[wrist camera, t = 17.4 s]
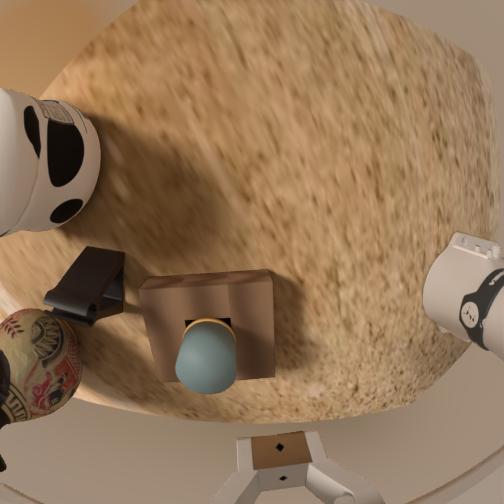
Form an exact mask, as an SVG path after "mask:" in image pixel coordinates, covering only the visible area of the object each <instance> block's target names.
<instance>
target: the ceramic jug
mask: <svg viewBox="0 0 504 504" xmlns="http://www.w3.org/2000/svg"><path fill="white" fill-rule="evenodd" d="M45 285H46V284H45ZM50 311H51V312H52V310H50ZM81 374H82V359H81V356H80V353H79V350H78V341H77V337H76V334H75V332H74V331H73V329H72V328H71V326H70V325H69V324H68V322H66V321H64V320H61V319H58V318H54V317H51V316H48V315H46V314H45V312H44V311H42V310H40V309H22V310H19V311H17V312H15V313H13V314H11V315H10V316H9V317H8V318H6V319H5V320H4V321H3V322H2V323H1V324H0V429H1V428H2V427H3V426H4V425H6V424H11V423H14V422H19V421H28V420H32V419H36V418H39V417H42V416H46V415H48V414H51V413H53V412H55V411H56V410H57V409H59V408H60V407H62V406H63V405H64V404H65V403H66V402H67V401H68V400H69V399H70V398H71V397H72V396H73V395H74V393H75V392H76V390H77V388H78V386H79V384H80V381H81ZM6 467H7V466H6V464H5V463H4V460H3V458H2V457H1V455H0V472H2V471H4V470H6Z"/></svg>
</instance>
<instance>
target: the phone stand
mask: <svg viewBox="0 0 504 504" xmlns="http://www.w3.org/2000/svg"><path fill="white" fill-rule="evenodd" d="M123 274H124V253H123V252H118V251H112V250H106V249H101V248H95V247H90V246H86V248H85V249H84V250H83V251H82V253H81V254H80V255H79V256H78V258H77V259H76V260H75V262H74V263H73V264H72V266H71V267H70V268H69V270H68V271H67V272H66V274H65V275H64V276H63V278H62V279H61V280H60V282H59V283H58V285H57V286H56V287H55V288H54V289H52V290H50V291H48V292H47V294H46V295H45V298H44V302H43V304H45V305H48V306H52V307H54V309H53V311H52V312H51V311H48V310H45V311H44V312H45V314H46V315H48V316H51V317H54V318H58V319H61V320H64V321H67V322H71V323H74V324H78V325H81V326H85V327H89V328H91V327H92V326H93V325H94V324H95V322H96V321H97V320H98V319H101V318H105V317H108V316H112V315H115V314H119V313H122V311H123Z"/></svg>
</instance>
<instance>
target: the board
mask: <svg viewBox="0 0 504 504" xmlns="http://www.w3.org/2000/svg"><path fill="white" fill-rule="evenodd" d="M138 291H139V296H140V301H141V306H142V311H143V316H144V321H145V325H146V329H147V334H148V338H149V342H150V346H151V350H152V354H153V358H154V362H155V365H156V369H157V373H158V376H159V380H160V382H180V380H179V379H178V377H177V375H176V370H175V366H176V362H177V358H178V354H179V351H180V347H181V344H182V340H183V335H184V332H185V330H186V328H187V327H188V325H189V324H191V323H192V320H196V319H201V318H231V328H232V330H233V332H234V334H235V337H236V366H237V376H236V379H235V380H247V379H259V378H269V377H275V346H274V310H273V281H272V279H271V277H270V274H269V272H268V269H261V270H248V271H234V272H220V273H205V274H190V275H174V276H157V277H149V278H148V279H147V280H146V281H145V282H144V284H143V285H142V286H141V287H140V288H139V290H138Z"/></svg>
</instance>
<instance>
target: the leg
mask: <svg viewBox="0 0 504 504" xmlns="http://www.w3.org/2000/svg"><path fill="white" fill-rule="evenodd" d="M175 370H176V375H177V377H178V379H179V380H180V382H181V383H182V384H183V385H184V386H185V387H187V388H188V389H190V390H192V391H194V392H197V393H201V394H216V393H220V392H223V391H225V390H226V389H228V388H229V387H230V386H231V385H232V384H233V383H234V381H235V379H236V376H237V366H236V337H235V334H234V332H233V330H232V329H231V327H230V326H229V325H228V324H226V318H201V319H197V320H195V321H193V322H192V323H191V324H189V325H188V327H187V328H186V330H185V332H184V335H183V340H182V344H181V347H180V351H179V354H178V358H177V362H176V366H175Z"/></svg>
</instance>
